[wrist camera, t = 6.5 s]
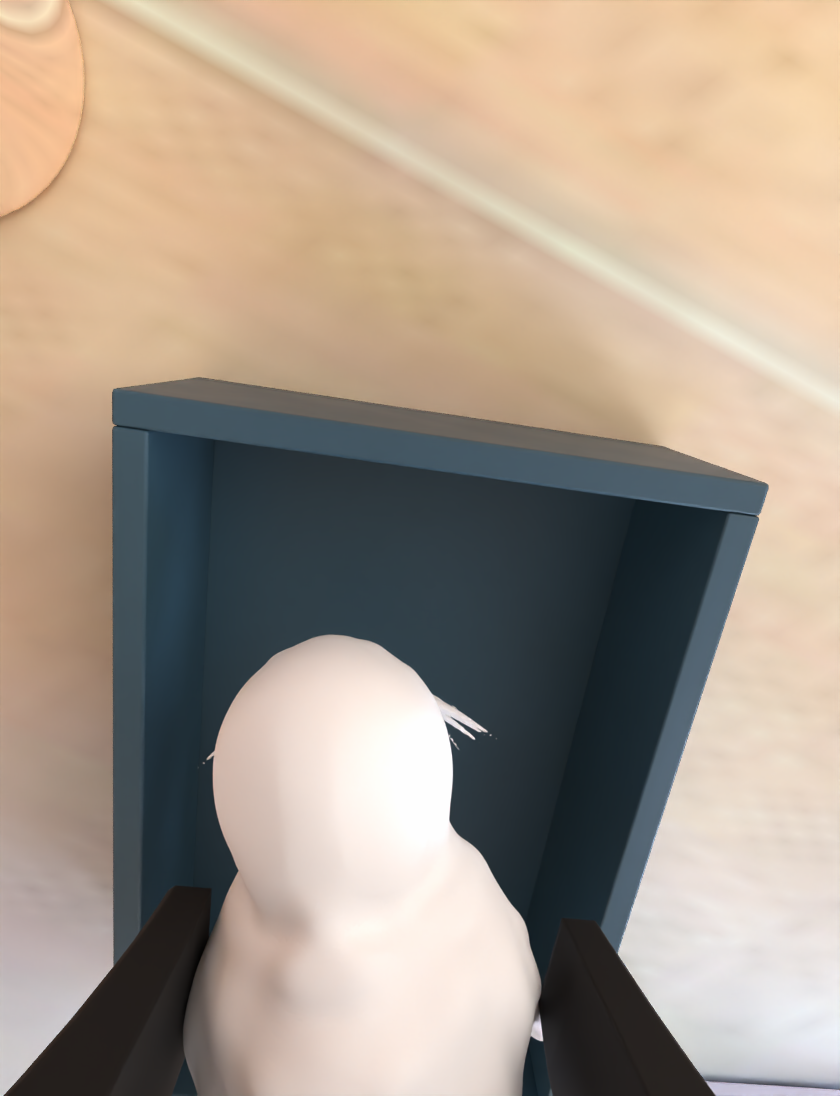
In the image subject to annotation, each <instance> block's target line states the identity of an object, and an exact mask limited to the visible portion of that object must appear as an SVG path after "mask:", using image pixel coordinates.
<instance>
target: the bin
mask: <svg viewBox="0 0 840 1096" xmlns="http://www.w3.org/2000/svg"><path fill="white" fill-rule="evenodd" d="M112 421H113V424H115V425H117V426H114V427H113V429H112V483H113V922H114V965H115V964H116V963H117V961H118V960H119V959H120V957H121V956H122V955H123V953H124V952H125V951H126V949H127V948H128V947H129V946H130V944H131V943H132V942H133V940H134V939H135V938H136V936H137V935H138V933H139V932H140V931H141V929H142V928H143V927H144V925H145V924H146V922H147V921H148V920H149V918H150V917H151V915H152V914H153V912H154V911H155V909H156V908H157V907H158V905H159V904H160V902H161V901H162V899H163V898H164V896H165V895H166V893H167V891H168V890H169V889H171V888H172V887H174V886H175V885H177V886H189V887H201V888H212V894H211V911H210V928H209V937H210V935H211V932H212V930H213V928H214V925H215V923H216V921H217V919H218V916H219V914H220V911H221V908H222V906H223V903H224V900H225V898H226V895H227V893H228V891H229V888H230V886H231V885H232V883H233V881H234V879H235V877H236V875H237V873H238V871H239V870H238V868H237V866H236V864H235V861H234V858H233V856H232V853H231V851H230V849H229V847H228V845H227V843H226V840H225V838H224V835H223V833H222V830H221V827H220V824H219V820H218V816H217V812H216V807H215V800H214V792H213V761H214V756H212V757H211V759H208V760H207V758H208V756H210V755H211V754H212V753H213V752H214V751H215V746H216V741H217V737H218V734H219V731H220V728H221V725H222V723H223V720H224V718H225V716H226V714H227V712H228V710H229V708H230V706H231V704H232V702H233V700H234V699H235V697H236V695H237V694H238V693H239V691H240V690H241V688H242V687H243V686H244V685H245V684H246V682H247V681H248V680H249V679H250V678H251V677H252V676H253V675H254V674H255V673H256V672H257V671H258V670H260V669H261V668H262V667H263V666H264V665H265V664H266V663H267V662H268V661H269V659H270V658H272V657H273V656H274V655H275V654H277V653H279V652H281V651H283V650H285V649H288V648H290V647H293V646H295V645H297V644H299V643H302V642H304V641H306V640H309V639H311V638H314V637H318V636H322V635H343V636H349V637H353V638H356V639H362V640H367V641H371V642H373V643H376V644H378V645H380V646H381V647H383V648H384V649H385V650H387V651H388V652H389V653H391V654H392V655H393V656H395V657H396V658H397V659H399V660H400V661H402V662H403V663H405V664H406V665H408V666H410V667H411V668H412V669H413V670H414V671H415V672H416V673H417V674H418V675H419V677H420V678H421V679H422V680H423V682H424V683H425V685H426V686H427V687H428V689H429V690H430V692H431V693H432V695H434V696H436V697H438V698H440V699H441V700H442V701H443V702H445V703H447V704H449V705H450V706H452V707H453V706H454V707H456V708H457V709H458V711H460V712H462V713H463V714H464V715H466V716H467V717H469V718H470V719H472V720H473V721H474V722H476V723H477V724H478V725H480V726H481V727H483V728H484V729H485V730H487V731H488V732H483V731H482V730H480V729H479V730H480V731H481V732H478V731H476V730H475V729H472V728H471V727H469V726H467V725H465V724H463V723H462V722H460V721H458V720H456V719H454V718H452V717H451V718H452V719H453V720H455V721H456V722H457V723H458V724H459V725H461V726H462V727H463V728H464V729H465V730H466V731H468V732H469V733H470V734H471V735H472V736H473V737H474V738H475V740H473V739H472V738H471V737H469V736H468V735H466V734H464V733H463V732H461V731H460V730H459V729H457V728H455V727H453V726H452V725H451V724H449V723H448V722H446V721H445V720H444V722H445V725H446V728H447V732H448V736H449V735H450V738H452V739H453V742H454V743H456V746H455V744H454V743H453V742H452V740H451V739H450V738H449V741H450V746H451V753H452V764H453V781H452V793H451V802H450V814H449V821H450V823H451V825H452V827H453V829H454V830H455V831H456V833H457V834H458V835H459V836H460V837H461V838H463V839H464V840H466V841H467V842H469V843H470V844H471V845H473V846H474V847H475V848H476V849H477V850H478V851H479V852H480V854H481V855H482V856H483V858H484V860H485V861H486V863H487V865H488V867H489V869H490V871H491V873H492V874H493V876H494V878H495V880H496V881H497V883H498V885H499V886H500V888H501V889H502V891H503V893H504V894H505V896H506V897H507V899H508V900H509V902H510V903H511V904H512V906H513V907H514V908H515V909H516V910H517V911H518V913H519V914H520V915H521V917H522V918H523V920H524V922H525V924H526V927H527V931H528V935H529V942H530V947H531V950H532V953H533V956H534V959H535V962H536V964H537V968H538V971H539V975H540V979H541V989H542V986H543V982H544V979H545V975H546V972H547V968H548V965H549V961H550V958H551V954H552V950H553V947H554V943H555V940H556V936H557V933H558V929H559V926H560V922H561V919H562V918H570V919H582V920H594V921H596V923H597V924H598V925H599V927H600V928H601V930H602V931H603V933H604V934H605V936H606V937H607V939H608V940H609V942H610V943H611V945H612V946H613V948H614V950H615V951H616V953H617V954H618V950H619V947H620V944H621V941H622V938H623V935H624V932H625V929H626V926H627V923H628V920H629V917H630V914H631V911H632V908H633V904H634V901H635V898H636V895H637V892H638V889H639V886H640V883H641V880H642V877H643V874H644V871H645V868H646V865H647V861H648V858H649V855H650V852H651V849H652V846H653V843H654V840H655V837H656V834H657V831H658V828H659V825H660V822H661V819H662V815H663V812H664V809H665V806H666V803H667V800H668V797H669V794H670V791H671V788H672V785H673V782H674V779H675V776H676V772H677V769H678V766H679V763H680V760H681V757H682V754H683V751H684V748H685V745H686V742H687V739H688V736H689V733H690V730H691V726H692V723H693V720H694V717H695V714H696V711H697V708H698V705H699V702H700V699H701V696H702V693H703V690H704V687H705V683H706V680H707V677H708V674H709V671H710V668H711V665H712V662H713V659H714V656H715V653H716V650H717V647H718V644H719V641H720V637H721V634H722V631H723V628H724V625H725V622H726V619H727V616H728V613H729V610H730V607H731V604H732V601H733V598H734V594H735V591H736V588H737V585H738V582H739V579H740V576H741V573H742V570H743V567H744V564H745V561H746V558H747V555H748V552H749V548H750V545H751V542H752V539H753V536H754V533H755V530H756V527H757V524H758V521H759V518H758V517H757V516H756V515H759V514H760V513H761V510H762V507H763V503H764V500H765V497H766V494H767V491H768V484H766V483H764V482H761V481H758V480H756V479H753V478H750V477H747V476H744V475H742V474H739V473H736V472H733V471H730V470H728V469H725V468H722V467H719V466H716V465H713V464H711V463H708V462H705V461H702V460H699V459H697V458H694V457H691V456H688V455H685V454H683V453H680V452H677V451H674V450H671V449H669V448H666V447H663V446H657V445H650V444H644V443H637V442H630V441H623V440H617V439H610V438H603V437H597V436H590V435H583V434H576V433H570V432H563V431H556V430H550V429H543V428H536V427H529V426H523V425H516V424H509V423H503V422H496V421H489V420H482V419H476V418H469V417H462V416H456V415H449V414H442V413H435V412H429V411H422V410H415V409H409V408H402V407H395V406H388V405H382V404H375V403H368V402H362V401H355V400H348V399H341V398H335V397H328V396H321V395H315V394H308V393H301V392H294V391H288V390H281V389H274V388H267V387H261V386H254V385H247V384H241V383H234V382H227V381H220V380H214V379H207V378H200V377H199V378H192V379H185V380H177V381H169V382H162V383H154V384H146V385H139V386H131V387H124V388H117V389H114V390H113V392H112ZM456 708H455V709H456ZM477 729H478V728H477ZM490 734H491V736H490ZM496 738H497V739H496ZM458 748H459V749H458ZM203 763H205V764H203ZM198 767H199V768H198ZM172 1096H197V1090H196V1087H195V1084H194V1081H193V1078H192V1075H191V1073H190V1070H189V1067H188V1064H187V1061H186V1057H185V1059H184V1062H183V1064H182V1067H181V1070H180V1073H179V1076H178V1079H177V1082H176V1084H175V1087H174V1090H173V1093H172ZM522 1096H553V1094H552V1089H551V1085H550V1080H549V1076H548V1071H547V1064H546V1057H545V1050H544V1043H543V1041H539V1040H537V1039H535V1038H533V1037H532V1036H531V1037H530V1041H529V1044H528V1049H527V1053H526V1058H525V1063H524V1070H523V1087H522Z"/></svg>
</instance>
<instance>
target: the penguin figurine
mask: <svg viewBox="0 0 840 1096" xmlns="http://www.w3.org/2000/svg"><path fill="white" fill-rule="evenodd" d="M455 708H456V707H454V706H453V707H452V706H450V705H449V704H447V703H445V702H443V701H442V700H441V699H440V698H438V697H436V696H434V695H432V693H431V692H430V690H429V689H428V687H427V686H426V685H425V683H424V682H423V680H422V679H421V678H420V677H419V675H418V674H417V673H416V672H415V671H414V670H413V669H412V668H411V667H410V666H408V665H406V664H405V663H403V662H402V661H400V660H399V659H397V658H396V657H395V656H393V655H392V654H391V653H389V652H388V651H387V650H385V649H384V648H383V647H381V646H380V645H378V644H376V643H373V642H371V641H367V640H362V639H356V638H353V637H349V636H343V635H322V636H318V637H314V638H311V639H309V640H306V641H304V642H302V643H299V644H297V645H295V646H293V647H290V648H288V649H285V650H283V651H281V652H279V653H277V654H275V655H274V656H273V657H272V658H270V659H269V661H268V662H267V663H266V664H265V665H264V666H263V667H262V668H261V669H260V670H258V671H257V672H256V673H255V674H254V675H253V676H252V677H251V678H250V679H249V680H248V681H247V682H246V684H245V685H244V686H243V687H242V688H241V690H240V691H239V693H238V694H237V695H236V697H235V699H234V700H233V702H232V704H231V706H230V708H229V710H228V712H227V714H226V716H225V718H224V720H223V723H222V725H221V728H220V731H219V734H218V737H217V741H216V746H215V751H214V752H213V753H212V754H211V755H210V756H208V758H207V760H208V759H211V757H212V756H214V761H213V792H214V800H215V807H216V812H217V816H218V820H219V824H220V827H221V830H222V833H223V835H224V838H225V840H226V843H227V845H228V847H229V849H230V851H231V853H232V856H233V858H234V861H235V864H236V866H237V868H238V870H239V871H238V873H237V875H236V877H235V879H234V881H233V883H232V885H231V886H230V888H229V891H228V893H227V895H226V898H225V900H224V903H223V906H222V908H221V911H220V914H219V916H218V919H217V921H216V923H215V925H214V928H213V930H212V932H211V935H210V937H209V939H208V942H207V944H206V946H205V949H204V951H203V954H202V956H201V959H200V961H199V964H198V967H197V970H196V973H195V976H194V979H193V983H192V986H191V990H190V994H189V998H188V1003H187V1007H186V1012H185V1018H184V1026H183V1047H184V1053H185V1057H186V1061H187V1064H188V1067H189V1070H190V1073H191V1075H192V1078H193V1081H194V1084H195V1087H196V1090H197V1096H522V1087H523V1070H524V1063H525V1058H526V1053H527V1049H528V1044H529V1041H530V1037H531V1036H532V1037H533V1038H535V1039H537V1040H539V1041H543V1036H542V1028H541V1020H540V1012H539V999H540V995H541V979H540V975H539V971H538V968H537V964H536V962H535V959H534V956H533V953H532V950H531V947H530V942H529V935H528V931H527V927H526V924H525V922H524V920H523V918H522V917H521V915H520V914H519V913H518V911H517V910H516V909H515V908H514V907H513V906H512V904H511V903H510V902H509V900H508V899H507V897H506V896H505V894H504V893H503V891H502V889H501V888H500V886H499V885H498V883H497V881H496V880H495V878H494V876H493V874H492V873H491V871H490V869H489V867H488V865H487V863H486V861H485V860H484V858H483V856H482V855H481V854H480V852H479V851H478V850H477V849H476V848H475V847H474V846H473V845H471V844H470V843H469V842H467V841H466V840H464V839H463V838H461V837H460V836H459V835H458V834H457V833H456V831H455V830H454V829H453V827H452V825H451V823H450V821H449V814H450V802H451V793H452V781H453V764H452V753H451V746H450V741H449V738H450V735H449V736H448V732H447V728H446V725H445V722H444V720H445V721H446V722H448V723H449V724H451V725H452V726H453V727H455V728H457V729H459V730H460V731H461V732H463V733H464V734H466V735H468V736H469V737H471V738H472V739H473V740H475V738H474V737H473V736H472V735H471V734H470V733H469V732H468V731H466V730H465V729H464V728H463V727H462V726H461V725H459V724H458V723H457V722H456V721H455V720H453V719H452V718H454V719H456V720H458V721H460V722H462V723H463V724H465V725H467V726H469V727H471V728H472V729H475V730H476V731H478V732H481V731H480V730H482V731H483V732H488V731H487V730H485V729H484V728H483V727H481V726H480V725H478V724H477V723H476V722H474V721H473V720H472V719H470V718H469V717H467V716H466V715H464V714H463V713H462V712H460V711H458V709H457V708H456V709H455ZM451 717H452V718H451ZM477 728H478V729H477ZM479 729H480V730H479ZM490 736H491V734H490ZM450 739H451V740H452V742H453V739H452V738H450ZM496 739H497V738H496ZM453 743H454V742H453ZM454 744H455V746H456V743H454ZM458 749H459V748H458ZM203 764H205V763H203ZM198 768H199V767H198Z"/></svg>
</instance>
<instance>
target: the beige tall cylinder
mask: <svg viewBox="0 0 840 1096" xmlns="http://www.w3.org/2000/svg"><path fill="white" fill-rule="evenodd" d="M84 86H85V80H84V62H83V54H82V47H81V42H80V37H79V33H78V29H77V25H76V21H75V18H74V15H73V12H72V9H71V6H70V3H69V0H0V217H2V216H4V215H7V214H9V213H12V212H14V211H16V210H18V209H20V208H21V207H23V206H25V205H26V204H28V203H29V202H31V201H32V200H33V199H35V198H36V197H37V196H38V195H40V194H41V193H42V192H43V191H44V190H45V189H46V188H47V187H48V186H49V185H50V184H51V182H52V181H53V180H54V179H55V177H56V176H57V175H58V173H59V172H60V170H61V169H62V167H63V166H64V164H65V162H66V160H67V158H68V156H69V154H70V152H71V150H72V147H73V145H74V142H75V140H76V136H77V133H78V130H79V126H80V122H81V117H82V110H83V103H84Z"/></svg>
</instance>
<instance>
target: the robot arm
mask: <svg viewBox="0 0 840 1096" xmlns="http://www.w3.org/2000/svg"><path fill="white" fill-rule="evenodd" d="M211 894H212V888H201V887H189V886H177V885H175V886H174V887H172V888H171V889H169V890H168V891H167V893H166V895H165V896H164V898H163V899H162V901H161V902H160V904H159V905H158V907H157V908H156V909H155V911H154V912H153V914H152V915H151V917H150V918H149V920H148V921H147V922H146V924H145V925H144V927H143V928H142V929H141V931H140V932H139V933H138V935H137V936H136V938H135V939H134V940H133V942H132V943H131V944H130V946H129V947H128V948H127V949H126V951H125V952H124V953H123V955H122V956H121V957H120V959H119V960H118V961H117V963H116V964H115V965H114V967H113V968H112V969H111V970H110V972H109V973H108V974H107V975H106V977H105V978H104V979H103V980H102V982H101V983H100V984H99V985H98V987H97V988H96V989H95V990H94V992H93V993H92V994H91V995H90V996H89V998H88V999H87V1000H86V1001H85V1003H84V1004H83V1005H82V1006H81V1008H80V1009H79V1010H78V1011H77V1013H76V1014H75V1015H74V1016H73V1017H72V1019H71V1020H70V1021H69V1022H68V1023H67V1025H66V1026H65V1027H64V1028H63V1029H62V1030H61V1031H60V1033H59V1034H58V1035H57V1036H56V1037H55V1038H54V1039H53V1041H52V1042H51V1043H50V1044H49V1045H48V1046H47V1047H46V1049H45V1050H44V1051H43V1052H42V1053H41V1054H40V1055H39V1057H38V1058H37V1059H36V1060H35V1061H34V1062H33V1063H32V1065H31V1066H30V1067H29V1068H28V1069H27V1070H26V1071H25V1073H24V1074H23V1075H22V1076H21V1077H20V1078H19V1079H18V1080H17V1082H16V1083H15V1084H14V1085H13V1086H12V1087H11V1088H10V1089H9V1090H8V1091H7V1092H6V1094H5V1095H4V1096H172V1093H173V1090H174V1087H175V1084H176V1082H177V1079H178V1076H179V1073H180V1070H181V1067H182V1064H183V1062H184V1059H185V1053H184V1047H183V1026H184V1018H185V1012H186V1007H187V1003H188V998H189V994H190V990H191V986H192V983H193V979H194V976H195V973H196V970H197V967H198V964H199V961H200V959H201V956H202V954H203V951H204V949H205V946H206V944H207V942H208V939H209V928H210V911H211ZM539 1012H540V1020H541V1028H542V1036H543V1043H544V1050H545V1057H546V1064H547V1071H548V1076H549V1080H550V1085H551V1089H552V1094H553V1096H840V1090H836V1089H821V1088H805V1087H789V1086H774V1085H758V1084H742V1083H727V1082H711V1081H705V1080H704V1079H703V1077H702V1076H701V1075H700V1073H699V1072H698V1071H697V1069H696V1068H695V1067H694V1065H693V1064H692V1062H691V1061H690V1060H689V1058H688V1057H687V1055H686V1054H685V1053H684V1051H683V1050H682V1048H681V1047H680V1045H679V1044H678V1043H677V1041H676V1040H675V1038H674V1037H673V1036H672V1034H671V1033H670V1031H669V1030H668V1029H667V1027H666V1026H665V1024H664V1023H663V1021H662V1020H661V1018H660V1017H659V1016H658V1014H657V1013H656V1011H655V1010H654V1008H653V1007H652V1005H651V1004H650V1002H649V1001H648V999H647V998H646V996H645V995H644V993H643V992H642V990H641V989H640V987H639V986H638V984H637V983H636V981H635V980H634V978H633V977H632V975H631V974H630V972H629V971H628V969H627V968H626V966H625V965H624V963H623V962H622V960H621V959H620V957H619V956H618V954H617V953H616V951H615V950H614V948H613V946H612V945H611V943H610V942H609V940H608V939H607V937H606V936H605V934H604V933H603V931H602V930H601V928H600V927H599V925H598V924H597V923H596V921H594V920H582V919H570V918H562V919H561V922H560V926H559V929H558V933H557V936H556V940H555V943H554V947H553V950H552V954H551V958H550V961H549V965H548V968H547V972H546V975H545V979H544V982H543V986H542V989H541V995H540V999H539Z"/></svg>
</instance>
